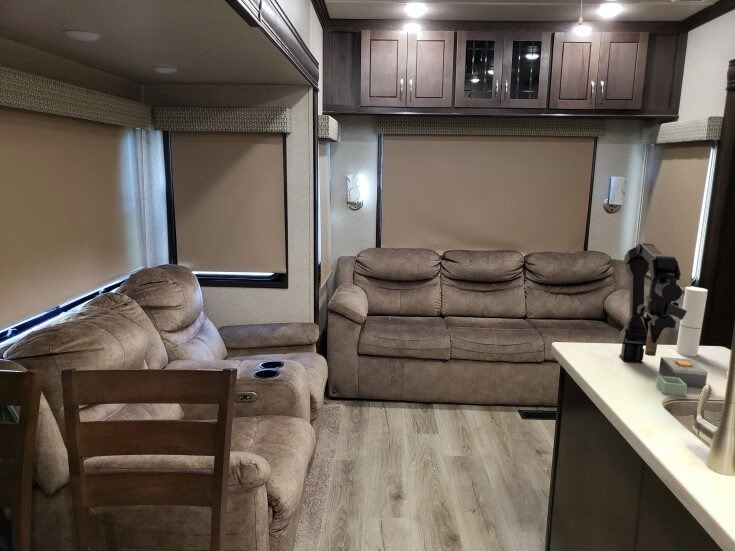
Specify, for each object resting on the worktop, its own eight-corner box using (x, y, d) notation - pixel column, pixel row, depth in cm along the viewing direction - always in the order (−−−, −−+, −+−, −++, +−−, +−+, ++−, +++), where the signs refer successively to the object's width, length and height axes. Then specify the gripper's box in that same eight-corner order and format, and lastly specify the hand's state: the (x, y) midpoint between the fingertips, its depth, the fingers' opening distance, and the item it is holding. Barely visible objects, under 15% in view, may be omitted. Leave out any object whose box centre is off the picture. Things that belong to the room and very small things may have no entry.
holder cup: (663, 393, 174) (664, 383, 173) (656, 386, 180) (657, 375, 179) (685, 396, 173) (687, 385, 172) (677, 388, 179) (679, 377, 178)
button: (678, 374, 184) (680, 364, 183) (674, 370, 187) (676, 360, 187) (689, 375, 184) (691, 365, 183) (685, 371, 187) (687, 361, 186)
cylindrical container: (699, 353, 214) (709, 289, 209) (694, 357, 209) (705, 292, 204) (678, 348, 219) (688, 286, 214) (673, 352, 214) (683, 288, 209)
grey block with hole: (671, 385, 181) (674, 369, 180) (658, 372, 192) (660, 356, 191) (704, 388, 179) (707, 372, 178) (689, 374, 191) (692, 359, 190)
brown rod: (646, 355, 184) (651, 323, 181) (643, 352, 187) (648, 320, 184) (657, 356, 183) (661, 323, 181) (653, 353, 186) (658, 321, 184)
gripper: (697, 303, 171) (689, 352, 174) (674, 290, 189) (668, 334, 192) (658, 300, 172) (651, 349, 175) (639, 287, 190) (633, 332, 193)
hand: (652, 341), depth 184 cm, fingers closed on brown rod, 3 cm apart
